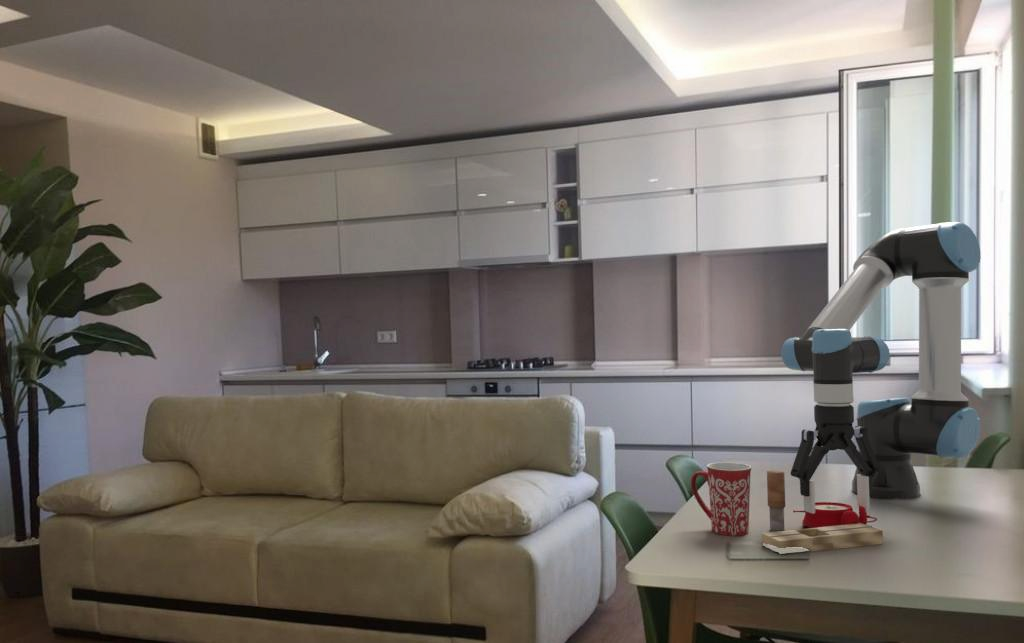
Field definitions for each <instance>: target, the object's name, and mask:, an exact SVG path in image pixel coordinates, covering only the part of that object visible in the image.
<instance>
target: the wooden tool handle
mask: <svg viewBox="0 0 1024 643" xmlns="http://www.w3.org/2000/svg"><path fill="white" fill-rule="evenodd" d="M785 480H786V479H785V471H783V470H776V469H775V470H774V469H773V470H771V469H770V470H767V471H766V483H767V484H766V486H767V487H766V488H767V489H766V490H767V507H769V508H768V510H769V532H777V531H785V508H786V487H785V486H786V484H785V483H786V482H785Z"/></svg>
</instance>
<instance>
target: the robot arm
mask: <svg viewBox="0 0 1024 643" xmlns="http://www.w3.org/2000/svg"><path fill="white" fill-rule="evenodd" d="M980 262H981V248H980V244H979V240H978V237H977V236H976V234H975V233H974V231H973V230H972V228H971V227H970V226H968V225H967V224H966V223H963V222H959V221H953V222H951V221H950V222H939V223H935V224H934V223H932V224H926V225H920V226H919V225H918V226H913V227H911V226H910V227H904V228H897V229H895V230H892V231H890V232H888V233H886V234H884V235H883V236H881V237H880V238H878V239H876V240H875V241H874V242H873V243H872V244H870V245H869V246H868V247H867V248H866V249H865V250H864V251H863V252H862V253H861V254H860V255H859V257H858V258H856V260H855V262H854V263H853V266H852V269H853V270H852V272H851V273H850V274H849V276H848V277H847V278H846V280H845V281H844V282H843V284H842V285H841V286H840V287H839V289H838V290H837V291H836V293H835V294H834V295H833V296H832V297H831V299H830V300H829V302H828V303H827V304H826V305H825V307H823V309H822V310H821V312H819V314H818V315H817V317H816V318H815V319H814V320H813V322H812V323H811V324H810V325H809V326H808V328H807V329H806V331H805V332H804V333H803V334H802V336H801V337H799V336H796V337H790V338H788V339H786V340H785V341H784V343H783V344H782V347H781V350H780V351H781V353H780V355H781V360H782V362H783V364H784V366H785V367H787V368H788V369H790V370H793V371H802V372H813V378H812V379H813V401H814V403H816V404H815V405H814V406H813V411H814V412H813V413H814V415H813V416H814V418H813V419H814V422H815V429H814V430H810V429H802V430H801V440H800V444H799V447H798V450H797V453H796V456H795V458H794V461H793V465H792V467H791V470H790V476H792V477H795V478H797V479H798V480H799V492H800V493H799V494H800V495H801V496H803V511H806V512H809V513H812V514H813V513H815V503H816V497H815V496H816V494H815V488H816V487H815V480H812V478H813V476H814V474H815V473H816V471H817V469H818V467H819V466H820V464H821V462H822V460H823V459H824V457H825V455H826V454H828V453H830V452H829V451H836V450H841V451H842V450H843V451H844V452H845V453H846V454H847V457H849V459H850V461H851V462H852V463H853V465H855V467H856V468H855V472H854V476H853V479H852V481H851V491H852V492H853V493H855V494H857V506H858V507H859V506H863V507H864V508H865V509H870V508H871V506H870V498H879V499H890V500H891V499H893V500H894V499H895V500H897V499H900V500H901V499H912V498H917V497H919V496H921V486H920V485H921V484H920V483H919V480H918V477H917V475H916V472H915V469H914V466H913V463H912V454H916V455H921V456H922V455H923V456H930V457H931V456H932V457H939V458H941V459H947V458H948V459H949V458H950V459H962V458H965V457H968V456H969V455H970V454H971V453H972V452H973V450H974V448H975V447H976V446H977V443H978V440H979V438H980V433H981V418H980V417H979V416H980V415H979V414H978V411H977V410H976V409H974V408H972V407H970V406H969V403H970V402H969V398H968V397H967V396H966V395H964V394H963V392H962V288H963V286H965V285H966V284H967V283H968V282H969V281H970V277H969V276H970V273H972V272H973V271H975V270H977V269H978V267H979V266H980V265H979V264H980ZM902 277H903V278H904V277H911V282H912V283H913V284H914V285H915V286H916V287H917V288H918V289H919V290H918V296H919V298H918V299H919V300H918V312H919V313H918V390H917V391H916V392H915V393H914V394H913V395H912V396H911V401H910V399H909V398H908V397H892V398H881V399H871V400H865V401H861V402H859V403H858V404H857V405H858V406H857V409H856V410H857V411H856V412H857V413H856V414H857V415H856V422H857V424H856V425H855V426H853V424H854V422H855V410H854V409H855V408H854V406H853V405H852V403H853V402H854V399H855V397H854V382H853V381H854V380H853V374H860V373H861V374H862V373H869V374H871V373H873V372H878V371H881V370H883V369H884V368H886V366H887V365H888V364H889V360H890V355H891V353H890V349H889V346H888V345H887V343H886V342H885V341H884V340H883V339H881V338H878V337H875V336H870V335H869V336H861V337H860V336H859V337H857V336H856V337H854V336H853V337H852V332H851V329H852V328H853V326H854V325H855V324H856V322H858V320H859V319H860V317H861V316H862V315H863V313H865V311H866V309H867V308H868V307H869V305H870V304H871V303H872V301H873V300H874V299H875V297H877V295H878V294H879V292H880V291H881V289H885V288H887V287H889V286H890V285H891V284H892V283H893V281H894V280H896V279H898V278H902ZM853 437H854V438H855V439H854V440H855V442H856V443H857V445H856V444H855V443H854V442H853V440H852V438H853ZM816 440H817V441H816ZM814 441H816V442H814ZM857 446H858V447H857ZM857 448H858V449H857ZM812 449H813V450H812Z"/></svg>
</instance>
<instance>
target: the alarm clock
mask: <svg viewBox="0 0 1024 643" xmlns="http://www.w3.org/2000/svg"><path fill="white" fill-rule="evenodd" d="M792 513H804V514H805V515H804V516H803V519H802V521H801V522H802V525H803V526H805V527H808V528H818V527H828V526H838V525H848V524H858V523H862V524H865V525H867V524H868V523H874V522H877V521H878V518H876V517H874V516H871V515H868V512H867V508H864V507H863V506H858V514H857V512H856V511H854V509H853V506H852V505H851V504H846V503H841V502H833V501H832V502H830V501H829V502H827V501H826V502H825V501H821V502H816V501H815V513H813V514H812V513H809V512H806V511H804V510H794V509H793V511H792ZM868 519H873V520H868Z"/></svg>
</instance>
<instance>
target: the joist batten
mask: <svg viewBox="0 0 1024 643" xmlns="http://www.w3.org/2000/svg"><path fill="white" fill-rule="evenodd" d="M883 536H884V533H883V530H882V529H879V528H876V527H874V526H872V525H867V524H866V525H865V524H862V523H858V524H848V525H838V526H828V527H818V528H811V527H808V528H801V529H799V528H798V529H789V530H784V531H777V532H772V531H769V532H761V544H762V543H765V544H770V545H773V546H776V547H778V548H786V547H803V548H806V549H808V550H809V551H810V552H820V551H829V550H838V549H849V548H855V547H856V548H857V547H865V546H874V545H876V546H877V545H883V544H884V537H883ZM810 552H809V553H810Z"/></svg>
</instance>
